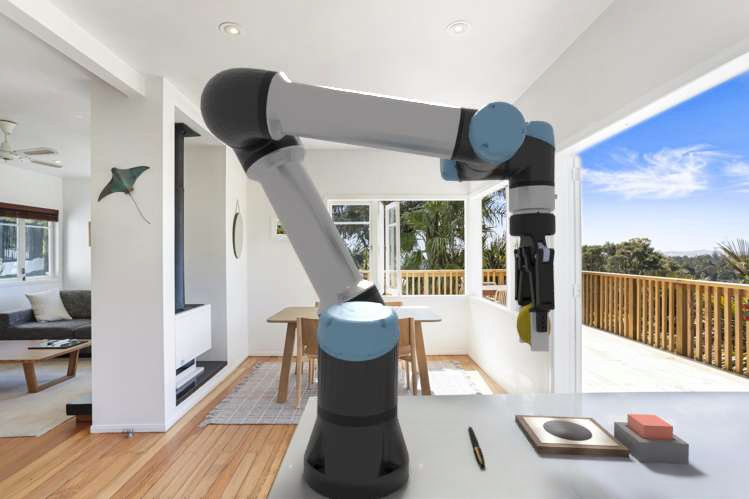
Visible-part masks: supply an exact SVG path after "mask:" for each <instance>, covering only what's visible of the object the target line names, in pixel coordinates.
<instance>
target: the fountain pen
mask: <svg viewBox="0 0 749 499" xmlns="http://www.w3.org/2000/svg"><path fill="white" fill-rule="evenodd" d="M467 428H468V429H467V430H468V433H469V438H470V441H471V446H472V449H473V453H474V456H475V460H476V462H477V464H478V465H479V467H480V469H485V467H486V464H485V458H484V454H483V451H482V449H481V447H480V444H479V441H478V439H477V436H476V434H475V432H474V429H473V428H472V426H470V425H468V426H467Z"/></svg>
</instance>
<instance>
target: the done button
mask: <svg viewBox="0 0 749 499" xmlns="http://www.w3.org/2000/svg"><path fill="white" fill-rule="evenodd" d="M626 422H627V427H628V428H629V429H630V430H632V431H633V432H634V433H636V434H637V435H638V436H640V437H641V438H642V439H656V440H673V434H674V426H673V425H672V424H670V423H668V422H667V421H665V420H663V419H662V418H660V417H659V416H657V415H656V414H641V413H639V414H638V413H627V421H626Z"/></svg>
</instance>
